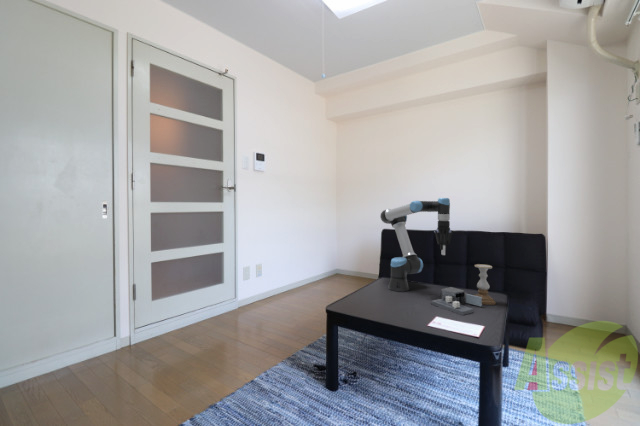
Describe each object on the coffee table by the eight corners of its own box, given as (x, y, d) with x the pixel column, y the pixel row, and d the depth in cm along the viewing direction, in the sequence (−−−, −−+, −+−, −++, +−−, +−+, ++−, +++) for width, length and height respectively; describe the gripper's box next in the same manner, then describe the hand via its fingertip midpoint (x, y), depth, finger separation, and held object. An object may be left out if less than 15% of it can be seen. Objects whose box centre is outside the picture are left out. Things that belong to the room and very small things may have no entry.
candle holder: (487, 299, 193) (488, 264, 193) (496, 305, 182) (496, 267, 182) (470, 299, 194) (471, 263, 194) (477, 304, 183) (478, 267, 183)
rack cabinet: (441, 301, 189) (441, 288, 189) (451, 298, 194) (451, 287, 194) (454, 305, 180) (454, 292, 180) (464, 303, 185) (464, 290, 185)
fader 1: (445, 301, 181) (445, 296, 181) (448, 300, 183) (448, 295, 183) (448, 302, 179) (448, 297, 179) (452, 301, 180) (452, 296, 180)
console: (430, 304, 183) (430, 300, 183) (441, 301, 188) (441, 298, 188) (462, 315, 164) (462, 311, 164) (473, 312, 169) (473, 308, 169)
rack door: (480, 307, 177) (481, 296, 177) (464, 303, 184) (464, 292, 184) (482, 306, 178) (482, 295, 178) (466, 302, 186) (466, 292, 186)
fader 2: (452, 306, 171) (452, 301, 171) (455, 305, 173) (456, 300, 172) (456, 307, 169) (456, 302, 169) (459, 307, 170) (459, 301, 170)
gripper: (436, 220, 193) (436, 255, 193) (455, 220, 193) (455, 255, 194) (431, 220, 200) (431, 253, 201) (450, 220, 201) (449, 253, 201)
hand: (443, 254), depth 197 cm, fingers closed
